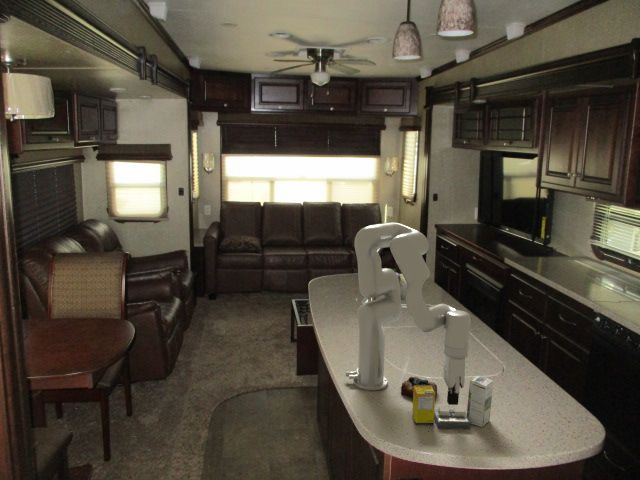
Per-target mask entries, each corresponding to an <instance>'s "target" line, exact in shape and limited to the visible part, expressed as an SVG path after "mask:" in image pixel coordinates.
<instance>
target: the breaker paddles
mask: <svg viewBox="0 0 640 480" xmlns="http://www.w3.org/2000/svg"><path fill="white" fill-rule="evenodd" d="M437 409H438V413H439V415H449V413H454V414H455V416H464V414H465V413H466V411H465V407H464V406H454V407H453V410H454V411H449V410H450V408H449V406H438V408H437Z"/></svg>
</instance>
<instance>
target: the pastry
mask: <svg viewBox="0 0 640 480" xmlns="http://www.w3.org/2000/svg"><path fill="white" fill-rule="evenodd" d="M414 386H432V388H433V390H434V392H435V397H436V396H437V394H438V385H437V384H436V383H435V382H431V381H429V380H428V379H422V378H419V377H417V376H410V377H408V379H407V380H404V382H402V383H401V387H400V389H401V390H400V391H401V392H400V395H402V396H404V397H407V398H409V399H412V400H413V392H414Z"/></svg>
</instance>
